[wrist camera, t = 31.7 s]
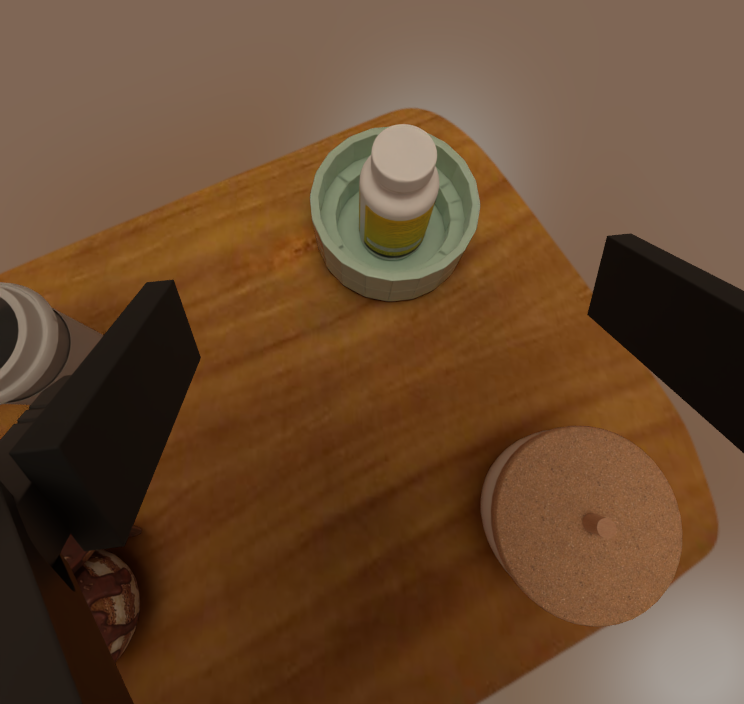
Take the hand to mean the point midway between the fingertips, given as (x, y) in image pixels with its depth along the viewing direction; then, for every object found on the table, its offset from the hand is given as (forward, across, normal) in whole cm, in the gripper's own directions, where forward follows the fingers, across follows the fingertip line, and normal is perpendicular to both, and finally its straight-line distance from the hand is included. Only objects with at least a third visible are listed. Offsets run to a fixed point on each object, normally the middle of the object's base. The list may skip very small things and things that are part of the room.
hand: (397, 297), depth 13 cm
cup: (+16, -20, -12) cm, 29 cm away
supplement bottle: (+23, +3, -5) cm, 23 cm away
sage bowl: (+23, +3, -6) cm, 24 cm away
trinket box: (+7, +11, -22) cm, 25 cm away
